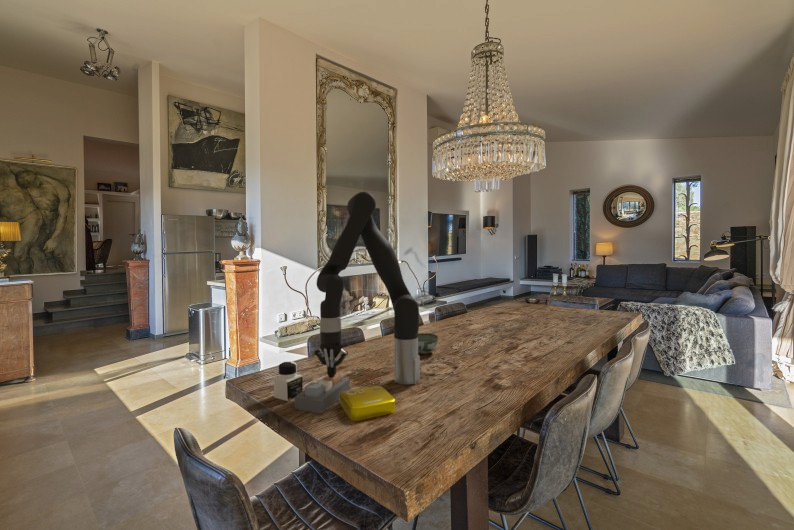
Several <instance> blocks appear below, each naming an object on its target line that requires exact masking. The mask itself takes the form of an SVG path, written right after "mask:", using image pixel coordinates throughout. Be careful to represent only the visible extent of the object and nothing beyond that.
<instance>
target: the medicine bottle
mask: <svg viewBox="0 0 794 530" xmlns="http://www.w3.org/2000/svg"><path fill="white" fill-rule="evenodd" d="M297 369H298V368H297V363H296V362H294V361H290V360H289V361H284V362H281V363H280V364H278V376H275V377H273V397H274V399H278V400H282V401H284V402H290V401H292V400H295V398H294V397H295V396H297V395H298V394H300V393H301V392H303V391H304V390H303V385H304V384H303V375H301V374H297V372H298V371H297Z"/></svg>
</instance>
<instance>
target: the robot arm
mask: <svg viewBox="0 0 794 530" xmlns="http://www.w3.org/2000/svg"><path fill="white" fill-rule="evenodd" d="M346 205H347V207H346V209H347V213H348V215H349V218H348V220H347V223H346V225H345V227H344V229H343V230H342V232H341V234H340V235H339V237H338V239H337V240H336V243H334V246H333V248H332V251H331V253H330V256H329V259H328V261H327V262H326V263H325V265H324V266H323V267H322V269H321V270H320V272H319V274H318V276H317V278H316V288H317V289H318V291H320V293H321V292H322V293H325V297H324V300H322V301H320V305H319V308H320V309H319V310H320V312H319V313H320V315H319V316H320V319H319V339H320V341H319V342H320V345H319V348H318V349H316V350H315V351H314V354H315V356H316V357H317V359H318V360H319V361H320V363H321V364H322V365H324V366H326V371H327V374H326V375H329V377H334V376H335V375H337V367H338V366H339V365H341V364H342V363H343V362H344V360H345V359H346V358H347V356H348V355H349V352H348V351H345V350H344V349H343V345H342V341H343V340H342V339H343V338H342V320H341V319H342V318H341V302H342V297H343V294H344V293H343V292H344V287H345V286H344V281H343V279H342V277H341V275H339V274H340V273H341V272H342V271H344V270H346V269H347V268H348V266H349V263H350V261H351V258H352V256H353V254H354V251H355V248H356V246H357V243H358V241H359V239H360V237H361V239H362V241H363V244H364V247H365V249H366V250H367V254H368V255H369V258H370V260H371V263H372V265H373V267H374V269H375V271H376V273H377V275H378V276H379V278H380V280H381V282H382V283H383V284H384V287H385V288H386V291H387V293H388V296H389V298H390V301H391V305H392V309H393V312H394V318H393V319H394V326H393V327H394V328H393V346H394V349H393V350H394V351H393V357H394V361H393V362H394V364H393V365H394V382H395V383H397V384H399V385H406V386H407V385H417V383H418V382H420V381H419V380H421V378H420V377H421V375H420V374H421V373H420V372H421V369H420V368H421V367H420V366H421V365H420V360H421V358H420V357H421V356H420V354H419V353H418V334H419V330H420V329H419V328H420V325H419V322H420V309H419V305H418V302H417V301H416V299H415V298H414V297H413V295H411V292H410V291H409V289H408V287H407V285H406V283H405V280H404V278H403V273H402V270H401V267H400V263H399V260H398V258H397V255H396V253H395V251H394V248H393V247H392V245H391V243H390V242H389V240H388V239H387V238H386V237H385V236H384V235H383V233H382V232H381V231H380V230H379V228H378V226H377V225H376V224H377V223H376V222H375V220H374V217H373V213H374V211H375V210H376V207H377V206H376V205H377V201H376V198H375V196H374V195H373V194H371V193H370V192H368V191H360V192H358V193H356V194H354V195H353V196H352V197H351V198H350V199H348V201H347V204H346Z"/></svg>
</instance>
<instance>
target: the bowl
mask: <svg viewBox="0 0 794 530" xmlns="http://www.w3.org/2000/svg"><path fill="white" fill-rule="evenodd" d="M438 339H439V336H438V335H436V334H434V333H428V332H427V333H426V332H422V333H418V355H430V354H431V353H432V351H434V350H435V349H436V348H437V345H438V341H439V340H438Z"/></svg>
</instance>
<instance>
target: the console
mask: <svg viewBox="0 0 794 530" xmlns="http://www.w3.org/2000/svg"><path fill="white" fill-rule="evenodd" d="M326 376H327V375H326ZM326 376H325V375H324V377H326ZM324 377H322V378H321V379H319V380H317V381H316V382H315V383H318V382H319V381H321V380H324V379H323V378H324ZM350 386H351V384H350V379H349V378H342V377H340V382H339V383H338V384H336V385H332V388H331V389H330V390H328V391H324V394H323V395H321V396H320V397H319V398H311V397H305V389H304V390H303V392H301V393H300V394H298V395H297V396H295V397H294V398H295V399H294V410H299V411H305V412H310V413H311V412H313V413H319V414H323V413H324V412H325V411H326V410H328V409H329V408H330V407H331V406H332V405H333V404H335V403H336V402H337V401H338V400H339V399H340V393H341V392H343V391H348V390H351V388H350Z"/></svg>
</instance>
